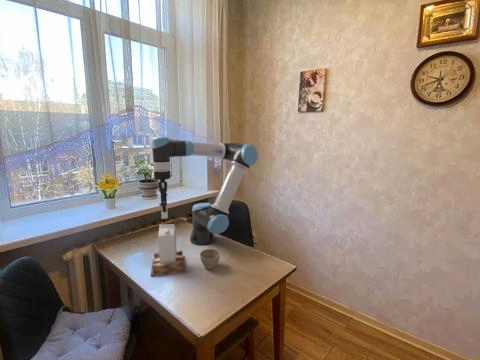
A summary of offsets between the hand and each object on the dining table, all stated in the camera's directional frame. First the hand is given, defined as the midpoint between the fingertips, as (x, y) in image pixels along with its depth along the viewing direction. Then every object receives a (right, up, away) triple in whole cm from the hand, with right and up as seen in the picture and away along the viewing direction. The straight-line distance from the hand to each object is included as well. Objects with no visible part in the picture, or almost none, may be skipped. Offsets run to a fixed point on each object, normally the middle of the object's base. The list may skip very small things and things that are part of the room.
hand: (164, 213), depth 121 cm
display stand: (+1, -27, +3) cm, 27 cm away
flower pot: (+22, -27, +4) cm, 35 cm away
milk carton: (+1, -24, +3) cm, 24 cm away
